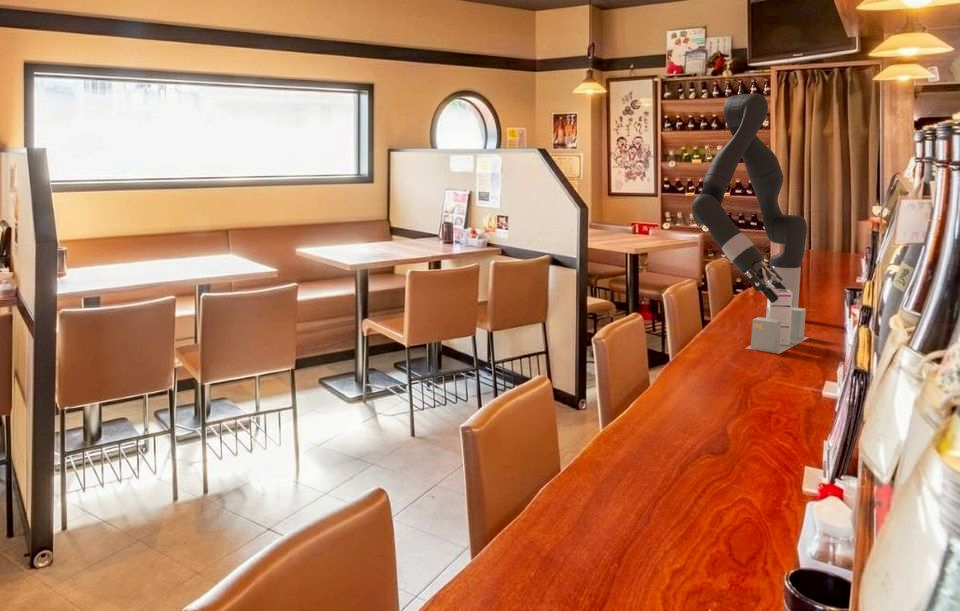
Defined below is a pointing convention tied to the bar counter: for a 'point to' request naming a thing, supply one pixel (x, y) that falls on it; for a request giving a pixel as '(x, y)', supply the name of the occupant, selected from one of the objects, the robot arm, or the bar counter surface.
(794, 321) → the block
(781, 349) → the grey flat base plate
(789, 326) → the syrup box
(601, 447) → the bar counter surface
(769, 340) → the block
